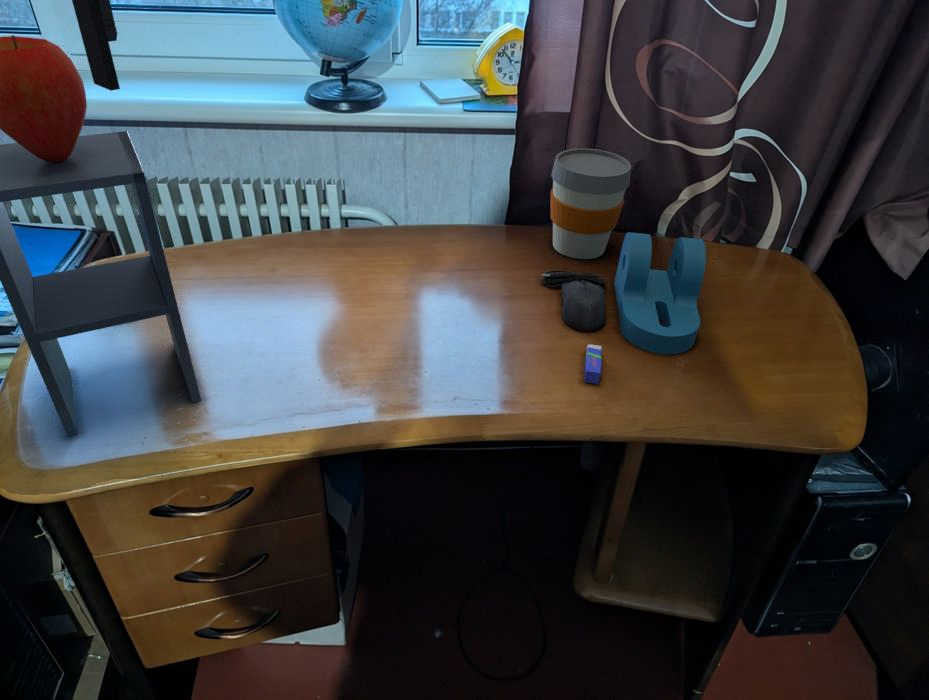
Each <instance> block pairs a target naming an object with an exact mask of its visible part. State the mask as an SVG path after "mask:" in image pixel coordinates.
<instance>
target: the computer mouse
mask: <svg viewBox="0 0 929 700" xmlns="http://www.w3.org/2000/svg"><path fill="white" fill-rule="evenodd" d="M541 277H542V279H541V283H542V284H545V286H546V287H548V288H556V287H557V288H558V287H561V297H562V308H561V317H562V319H563V321H564V322H565V323H566V324H567V325H568V326H569V327H571V328H573V329H575V330H577V331H578V330H579V331H583V332H591V331H594V330H598V329H599V328H600V327H602V326H603V325H604V324H605V323H606V319H607V304H606V303H607V301H606V291H605V290H604V288H603V287H604V286H605V285H606V279H605V277H602V274H596V273H595V274H594V273H585V272H583V273H581V272H580V273H578V272H573V271H569V270H561V269H558V270H547V271H545V272H544V273H543V274H541Z"/></svg>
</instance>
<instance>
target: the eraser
mask: <svg viewBox="0 0 929 700" xmlns="http://www.w3.org/2000/svg"><path fill="white" fill-rule="evenodd" d="M602 353H603V347H602V346H601V345H597V344H591V343H589V344H587V347H586V353H585V366H584V367H585V368H584V379H583V380H584V382H585V383H589V384H595V385H598V384H599V382H600V378H601V375H602V355H603V354H602Z"/></svg>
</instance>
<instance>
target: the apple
mask: <svg viewBox="0 0 929 700" xmlns="http://www.w3.org/2000/svg"><path fill="white" fill-rule="evenodd" d="M87 109H88V105H87V94H86V88H85V83H84V81H83V78H82V76H81V75H80V73H79V71H78V69H77V68H76V66H75V64H74V62H73V60H72V59H71V57H69V55H67V53H66V52H65V51H64V50H63V49H62V48H61V47H60V46H59V45H57V44H55V43H53V42H52V41H49V40H47V39H46V38H45V39H44V38H37V37H29V36H28V37H27V36H17V35H16V36H15V35H12V34H11V36H9V35H8V36H0V130H1V131H2V132H3V133H4V134H5V135H7V136H8V137H9V138H10V139H12V140H13V141H14V142H15V143H18V144H20V145H21V146H22V147H24V148H25V149H26V150H27V151H29V152H30V153H32V154H33V155H35V156H36V157H38V158H39V159H42V160H45V161H47V162H48V161H56V162H62V161H65V160H66V159H67V158H68V157H69V156H70V155H71V153H72V151H73V149H74V147H75V145H76V142H77V139H78V137H79V136H80V134H81V132H82V129H83V126H84V123H85V120H86V115H87Z"/></svg>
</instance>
